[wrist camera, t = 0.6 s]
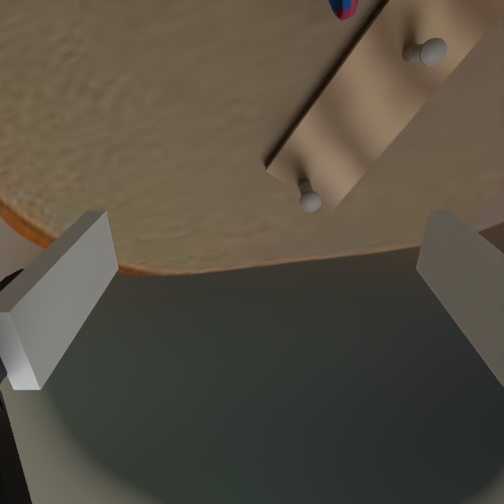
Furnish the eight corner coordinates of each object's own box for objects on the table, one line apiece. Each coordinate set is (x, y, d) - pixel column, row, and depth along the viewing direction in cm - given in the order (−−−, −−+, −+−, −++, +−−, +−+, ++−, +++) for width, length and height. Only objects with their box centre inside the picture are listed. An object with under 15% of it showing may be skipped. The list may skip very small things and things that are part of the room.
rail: (525, -193, 25) (599, -262, 19) (593, -103, 27) (676, -143, 21) (265, 167, 36) (266, 186, 31) (326, 210, 38) (337, 235, 33)
